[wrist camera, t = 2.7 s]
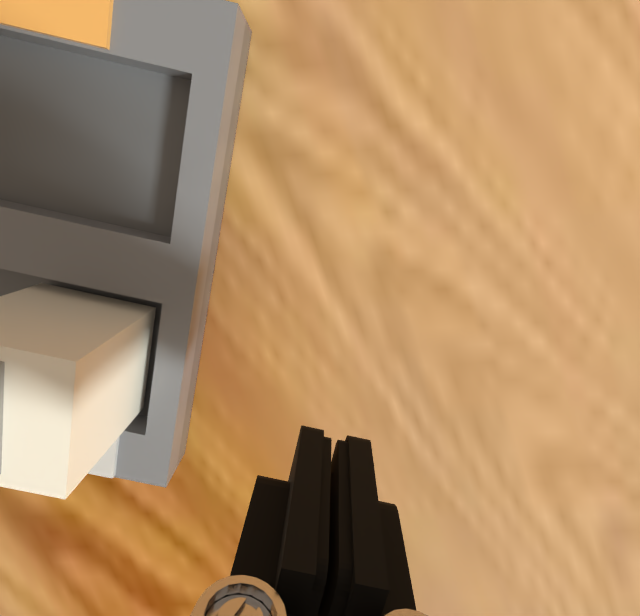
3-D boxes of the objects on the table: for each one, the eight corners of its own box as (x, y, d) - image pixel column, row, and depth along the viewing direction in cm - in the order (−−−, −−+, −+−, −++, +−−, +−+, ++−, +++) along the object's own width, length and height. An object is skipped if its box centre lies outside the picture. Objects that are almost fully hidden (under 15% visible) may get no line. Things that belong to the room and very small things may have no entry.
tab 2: (143, 407, 16) (58, 507, 11) (36, 385, 16) (-99, 476, 11) (156, 307, 15) (68, 366, 10) (41, 282, 15) (-105, 330, 10)
